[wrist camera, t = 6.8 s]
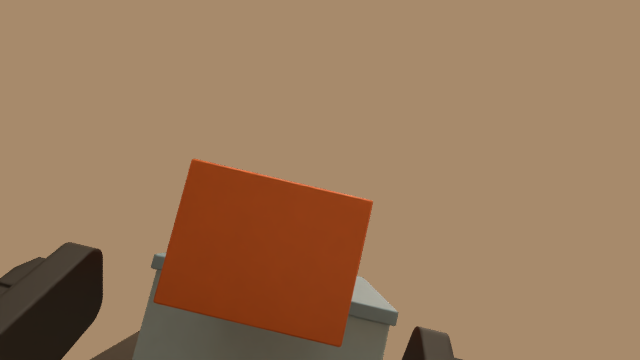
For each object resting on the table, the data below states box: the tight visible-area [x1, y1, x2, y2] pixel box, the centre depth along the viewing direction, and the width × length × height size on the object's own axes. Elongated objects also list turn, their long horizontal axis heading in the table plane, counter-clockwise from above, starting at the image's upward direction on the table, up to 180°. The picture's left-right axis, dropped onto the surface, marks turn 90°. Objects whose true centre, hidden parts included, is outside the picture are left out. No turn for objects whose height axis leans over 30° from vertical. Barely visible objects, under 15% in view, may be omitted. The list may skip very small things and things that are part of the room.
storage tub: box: [132, 253, 398, 360], centre depth 23 cm, size 10×12×5 cm
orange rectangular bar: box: [153, 159, 373, 347], centre depth 19 cm, size 4×19×4 cm, turn 1°
